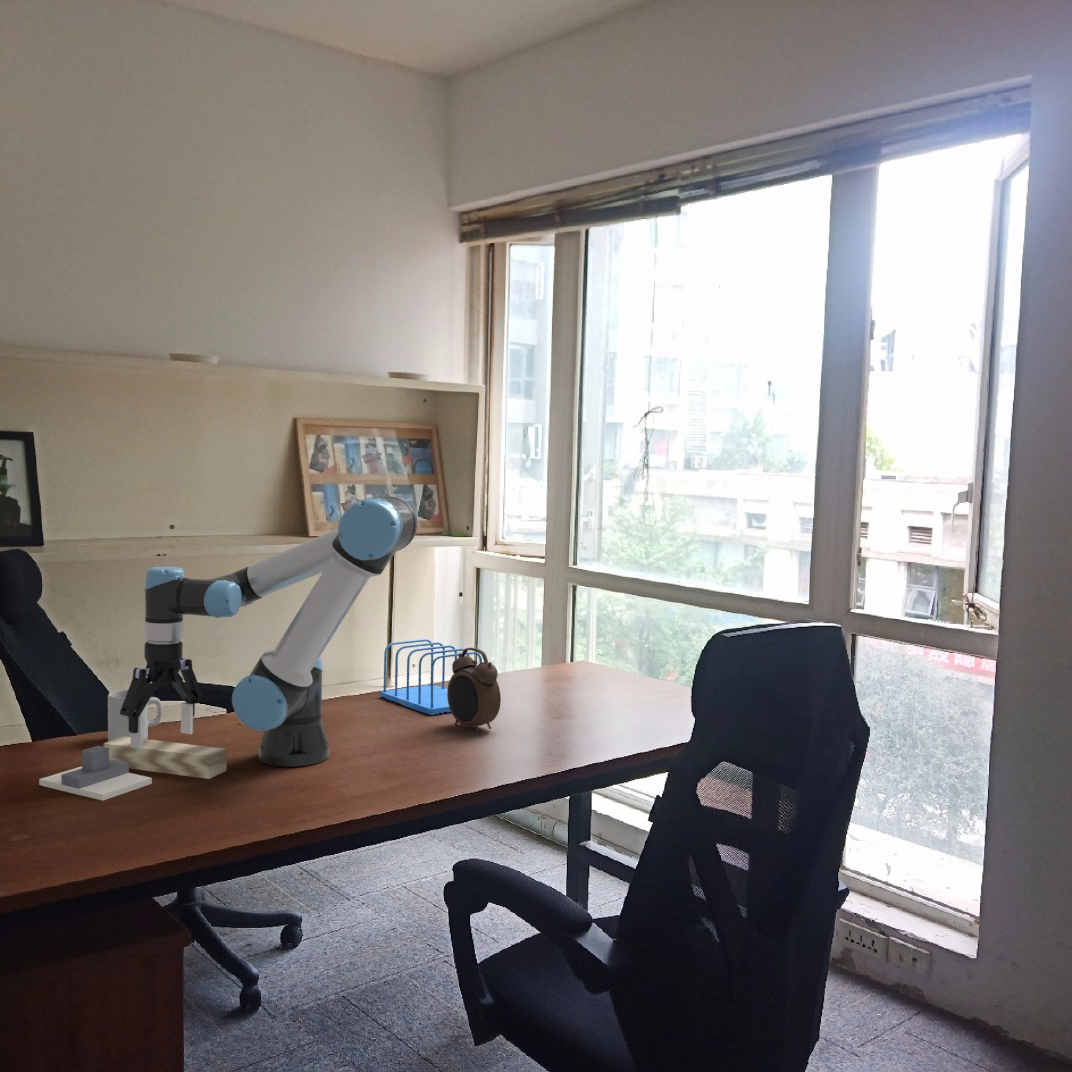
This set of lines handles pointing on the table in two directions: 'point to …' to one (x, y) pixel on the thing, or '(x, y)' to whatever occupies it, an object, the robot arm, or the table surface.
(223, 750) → the oak bar
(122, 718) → the mug
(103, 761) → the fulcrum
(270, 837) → the table surface
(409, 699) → the file sorter
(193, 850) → the table surface
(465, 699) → the alarm clock
